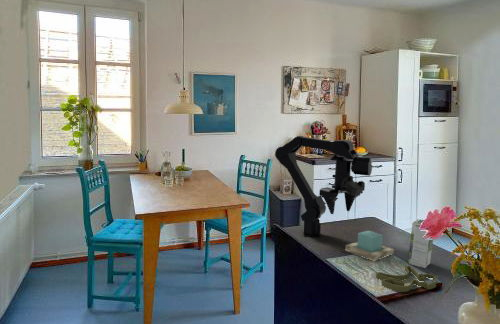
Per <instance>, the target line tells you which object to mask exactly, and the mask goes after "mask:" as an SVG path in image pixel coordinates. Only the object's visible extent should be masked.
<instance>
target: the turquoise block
mask: <svg viewBox="0 0 500 324" xmlns="http://www.w3.org/2000/svg"><path fill="white" fill-rule="evenodd" d="M383 237H384V235H383V234H381V233H377V232H374V231H372V230H365V231H362V232H358V233H357V242H358V244H357V247H358V248H361V249H363V250H366V251H368V252H371V253H373V252H376V251H380V250H382V245H383V242H384V239H383Z"/></svg>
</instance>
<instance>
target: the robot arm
mask: <svg viewBox="0 0 500 324" xmlns="http://www.w3.org/2000/svg"><path fill="white" fill-rule="evenodd" d="M301 147H305V148H310V149H318V150H322V151H328V152H330V153H331V154H334V155H333V156H332V157H331V158H330V159H329V160H330V161H334V162H335V169H334V174H332V178H334V184H332V185H331V187H327V186H326V187H321V188H319V195H318V196H317V195H316V194H315V193H314V190H313V189H312V188H311V186H310V184H309V182H308V180H307V179H306V178H305V175H304V173H303V171H302V170H301V169H300V167H299V165H298V162H297V155H296V152H298V151H299V150H300V148H301ZM274 156H275V158H276V160H277V161H278V162H279V164H281V166H283V168H286V170H287V171H288V173H289V175H290V177H291V179H292V181H293V182H294V184H295V186H296V188H297V189H298V192H299V193H300V195H301V197H302V198H303V203H304V208H305V212H303V213H302V214H300V218H301V221H302V230H301V233H302V235H303V237H321V229H322V228H321V227H322V225H321V222H320V221H321V220H320V219H321V218H322V215H324V214H325V212H327V211H326V210H327V208H328V210H329V213H330V215H334V213H335V208H336V207H335V205H336V201H337V200H338V199H339V198H338V196H339V194H344V200H345V209H346V212H350V211H351V209H352V207H353V204H354V202H355V199H356V198H358V197H359V196H361V195H362V194H363V193H364V191H365V188H366V184H365V182H364V181H363V180H360V181H354V176H353V175H351V173H353V174H354V175H357V176H369V177H370V176H371V174H372V170H373V165H372V157H370V156H366V157H364V156H359V154H358V153H357V152H356V150H355V149H354V143H353V142H352V141H351V140H349V139H336V140H328V139H322V138H321V139H320V138H314V137H309V136H303V135H297V136H295V137H294V138H293V139H292V140H289V141H288V142H286V143H285V144H284V145H283V146H279V147H278V148H276V150H275V153H274Z"/></svg>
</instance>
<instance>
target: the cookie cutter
mask: <svg viewBox="0 0 500 324" xmlns="http://www.w3.org/2000/svg"><path fill="white" fill-rule="evenodd" d="M405 271H406V272H407V273H406V272H405ZM409 271H410V272H409ZM404 272H405V274H401V275H398V274H388V273H384V272H380V271H379V272H376V274H375V279H377V280H379V279H380V280H379V281H381V287H383V286H384V287H383V288H385V287H386V289H388V288H389V289H388V290H390V289H392V290H391V291H394V290H395V291H394V292H399V291H401V293H405V292H410V291H411V290H410V289H412V288H413V286H414V285H413V284H416V285H418V286H421V287H424V288H423V289H426V290H432V289H435V288H436V287H437V285H436V284H437V283H438V279H437V277H438V276H437V275H434V274H431V273H419V272H417V270H415V269H414V268H412V267H411V265H406V266H404ZM411 272H412V273H413V274H414V275H415V276H416V277H417V278H416V277H415V276H414V275H413V274H412V273H411ZM410 273H411V274H412V275H413V276H414V277H415V278H416V279H411V281H410V284H408V285H405V284H406V281H405V280H404V279H406V280H408V279H409V277H410ZM426 277H428V278H433V280H434V281H435V282H433V280H432V282H430V283H429V282H425V280H426V279H425V278H426ZM407 278H408V279H407ZM417 279H418V280H419V281H424V282H419V281H418V280H417ZM402 280H403V281H402ZM412 285H413V286H412ZM416 285H415V286H416ZM411 287H412V288H411Z"/></svg>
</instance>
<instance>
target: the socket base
mask: <svg viewBox="0 0 500 324" xmlns="http://www.w3.org/2000/svg"><path fill="white" fill-rule="evenodd" d="M357 244H358V241H357V242H356V241H355V242H352V243H350V244H349V243H348V244H345V249H344V250H345V252H348V253H350V254H353V255H354V256H355V255H356V256H358V255H360V256H363V257H365V258H368V259H370V260H372V261H373V262H375V261H374V260H376V261H378V260H377V259H379V258H382V257H384V256H387V255H391V254H392V256H394V254H395V249H394V248H392V247H388V246H385V245H383V244H382V250H380V251H376V252H373V253H371V252H368V251H366V250H363V249H361V248H358V247H357ZM360 256H359V257H360ZM363 257H362V258H363ZM365 258H364V259H365ZM368 259H367V260H368ZM382 259H383V258H382ZM370 260H369V261H370ZM379 260H380V259H379ZM372 261H371V262H372Z"/></svg>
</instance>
